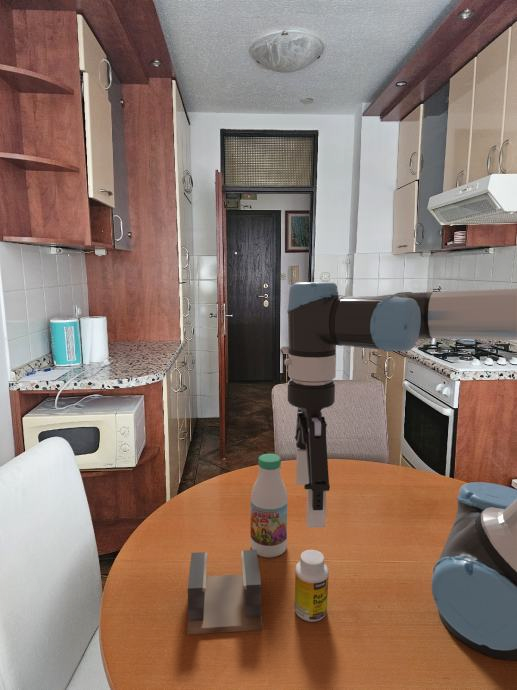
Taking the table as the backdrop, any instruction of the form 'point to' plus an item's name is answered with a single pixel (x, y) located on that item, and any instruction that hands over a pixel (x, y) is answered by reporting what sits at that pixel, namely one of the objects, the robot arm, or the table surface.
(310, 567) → the supplement bottle
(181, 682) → the table surface
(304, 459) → the robot arm
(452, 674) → the table surface
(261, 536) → the milk bottle
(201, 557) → the clamp block
